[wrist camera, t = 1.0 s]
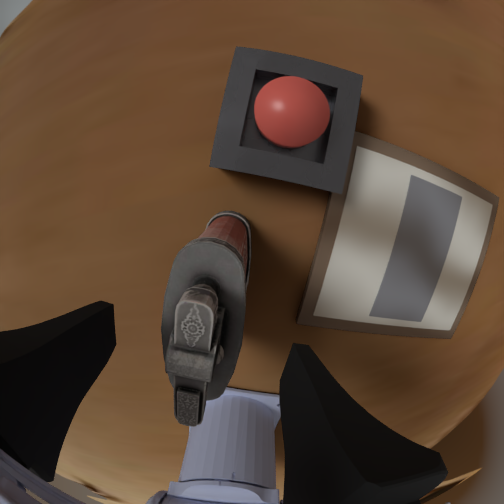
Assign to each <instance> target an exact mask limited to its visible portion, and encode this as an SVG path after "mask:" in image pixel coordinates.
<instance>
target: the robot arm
mask: <svg viewBox="0 0 504 504" xmlns="http://www.w3.org/2000/svg"><path fill="white" fill-rule="evenodd" d="M115 346H116V334H115V322H114V305H113V304H111V303H107V302H104V301H98V302H95V303H92V304H89V305H87V306H84V307H82V308H79V309H77V310H74V311H72V312H69V313H67V314H64V315H62V316H59V317H56V318H53V319H51V320H48V321H45V322H42V323H39V324H36V325H32V326H28V327H24V328H20V329H15V330H9V331H2V332H0V504H42V503H40V502H39V501H37V500H36V499H34V498H33V497H31V496H30V495H29V494H27V493H26V489H25V488H27V489H28V490H30V491H31V492H33V493H34V494H35V495H37V496H38V497H40V498H42V499H43V500H45V501H46V502H48V503H50V504H85V503H83V502H81V501H79V500H77V499H75V498H74V497H71V496H70V495H68V494H66V493H64V492H62V491H61V490H59V489H57V488H55V487H54V486H52V485H50V484H49V483H47V482H51V481H53V480H54V475H55V470H56V466H57V462H58V458H59V455H60V451H61V448H62V445H63V442H64V439H65V436H66V434H67V431H68V429H69V426H70V424H71V422H72V419H73V417H74V415H75V413H76V411H77V409H78V406H79V405H80V403H81V401H82V400H83V398H84V396H85V395H86V393H87V392H88V390H89V389H90V387H91V386H92V385H93V383H94V382H95V380H96V379H97V377H98V376H99V374H100V373H101V371H102V370H103V368H104V367H105V365H106V364H107V362H108V360H109V358H110V356H111V354H112V352H113V350H114V348H115ZM280 417H281V422H282V430H283V439H284V449H285V478H284V496H283V500H281V501H280V504H421V503H420V500H419V499H420V498H422V497H423V496H425V495H426V494H427V493H429V492H430V491H431V490H433V489H434V488H435V487H437V486H438V485H439V484H440V483H441V482H442V481H443V480H444V479H445V478H446V476H447V474H448V471H447V468H446V466H445V464H444V462H443V460H442V457H441V455H440V453H439V452H436V451H434V450H431V449H429V448H426V447H424V446H421V445H419V444H417V443H415V442H413V441H411V440H409V439H407V438H405V437H403V436H401V435H400V434H398V433H396V432H395V431H393V430H391V429H390V428H388V427H387V426H386V425H384V424H383V423H381V422H380V421H378V420H377V419H376V418H374V417H373V416H372V415H371V414H369V413H368V412H367V411H366V410H365V409H364V408H363V407H361V406H360V405H359V404H358V403H357V402H356V401H355V400H354V399H353V398H352V397H351V396H350V395H349V394H348V393H347V392H346V391H345V390H344V389H343V388H342V387H341V386H340V384H339V383H338V382H337V381H336V380H335V379H334V377H333V376H332V375H331V374H330V372H329V371H328V370H327V369H326V367H325V366H324V365H323V364H322V362H321V361H320V360H319V358H318V357H317V356H316V354H315V353H314V352H313V350H312V349H311V348H310V347H309V345H304V344H297V343H293V345H292V348H291V351H290V354H289V356H288V359H287V362H286V365H285V368H284V370H283V373H282V376H281V379H280V392H279V395H277V394H268V393H260V392H253V391H247V390H240V389H234V388H228V387H226V389H225V391H224V393H223V394H222V395H221V396H220V397H219V398H217V399H214V400H209V401H206V407H205V412H204V416H203V421H202V423H201V424H200V425H197V426H195V427H192V426H190V429H189V439H188V443H187V447H186V451H185V455H184V459H183V463H182V468H181V472H180V476H179V480H178V482H173V481H171V482H170V485H169V489H168V491H159V492H157V493H156V494H155V495H154V496H152V497H151V498H150V499H149V500H148V501H147V502H146V504H279V490H278V489H276V465H275V434H274V430H275V428H276V426H277V424H278V421H279V419H280ZM24 487H25V488H24ZM445 504H450V502H447V503H445Z"/></svg>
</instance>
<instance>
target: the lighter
mask: <svg viewBox="0 0 504 504" xmlns="http://www.w3.org/2000/svg"><path fill="white" fill-rule="evenodd" d="M250 261H251V228H250V224H249V222H248V220H247V219H246V218H245V217H244V216H243V215H241V214H240V213H237V212H234V211H223V212H220V213H217V214H216V215H215V216H213V217H212V218H211V219H210V221H209V223H208V224H207V227H206V230H205V231H204V232H203V233H202V234H201V235H200V236H199V238H198V239H195V240H192V241H191V242H189V243H188V244H187V245H185V246H184V247H183V248H182V249H181V250H180V251H179V252H178V254H177V256H176V258H175V260H174V262H173V266H172V269H171V273H170V277H169V280H168V284H167V288H166V292H165V296H164V305H163V315H162V326H161V333H162V344H163V354H164V361H165V371H166V373H168V376H169V380H170V383H171V384H172V386H173V388H174V415H175V418H176V419H177V420H178V422H179V423H180V424H183V425H186V426H192V427H195V426H197V425H200V424H201V423H202V421H203V416H204V412H205V407H206V401H209V400H214V399H217V398H219V397H220V396H221V395H222V394H223V393H224V391H225V389H226V387H227V385H228V383H229V381H230V379H231V377H232V375H233V373H234V370H235V366H236V363H237V359H238V356H239V353H240V349H241V346H242V338H243V328H244V318H245V308H246V289H247V285H248V281H249V271H250Z"/></svg>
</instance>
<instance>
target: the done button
mask: <svg viewBox="0 0 504 504" xmlns="http://www.w3.org/2000/svg"><path fill="white" fill-rule="evenodd" d="M254 114H255V122H256V125H257V128H258V130H259V131H260V133H261V134H262V136H263V137H264V138H265V139H266V140H268V141H269V142H270V143H272V144H274V145H276V146H278V147H282V148H289V149H293V148H299V147H302V146H305V145H307V144H309V143H311V142H313V141H314V140H316V139H317V138H319V137H320V136H321V135H322V133H323V132H324V131H325V129H326V128H327V125H328V123H329V118H330V109H329V104H328V101H327V99H326V97H325V95H324V94H323V92H322V91H321V90H320V89H319V88H318V87H317V86H316V85H315V84H313V83H312V82H310V81H308V80H306V79H304V78H300V77H295V76H284V77H279V78H276V79H274V80H272V81H270V82H268V83H267V84H266V85H265V86H263V88H262V89H261V90H260V91H259V93H258V95H257V97H256V100H255V105H254Z"/></svg>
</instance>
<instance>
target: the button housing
mask: <svg viewBox="0 0 504 504" xmlns="http://www.w3.org/2000/svg"><path fill="white" fill-rule="evenodd" d="M284 76H295V77H300V78H304V79H306V80H308V81H310V82H312V83H313V84H315V85H316V86H317V87H318V88H319V89H320V90H321V91H322V92H323V94H324V95H325V97H326V99H327V101H328V104H329V109H330V118H329V123H328V125H327V128H326V129H325V131H324V132H323V133H322V135H321V136H320V137H319V138H317V139H316V140H314V141H313V142H311V143H309V144H307V145H305V146H302V147H299V148H293V149H289V148H282V147H278V146H276V145H274V144H272V143H270V142H269V141H268V140H266V139H265V138H264V137H263V136H262V134H261V133H260V131H259V130H258V128H257V125H256V122H255V114H254V105H255V100H256V97H257V95H258V93H259V91H260V90H261V89H262V88H263V86H265V85H266V84H267V83H268V82H270V81H272V80H274V79H276V78H279V77H284ZM362 80H363V76H362V75H359V74H356V73H354V72H351V71H348V70H345V69H341V68H338V67H335V66H331V65H328V64H325V63H321V62H317V61H313V60H309V59H305V58H301V57H297V56H292V55H287V54H282V53H277V52H272V51H266V50H260V49H253V48H245V47H237V46H236V49H235V53H234V57H233V61H232V65H231V69H230V73H229V77H228V81H227V85H226V89H225V94H224V98H223V102H222V107H221V111H220V116H219V121H218V125H217V130H216V135H215V140H214V145H213V150H212V155H211V160H210V166H209V167H215V168H221V169H227V170H233V171H238V172H244V173H249V174H254V175H260V176H265V177H270V178H274V179H279V180H284V181H288V182H293V183H297V184H302V185H306V186H310V187H314V188H318V189H323V190H327V191H331V192H334V193H338V194H342V191H343V187H344V182H345V178H346V173H347V168H348V164H349V159H350V154H351V148H352V143H353V138H354V132H355V126H356V121H357V114H358V108H359V102H360V95H361V88H362Z"/></svg>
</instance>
